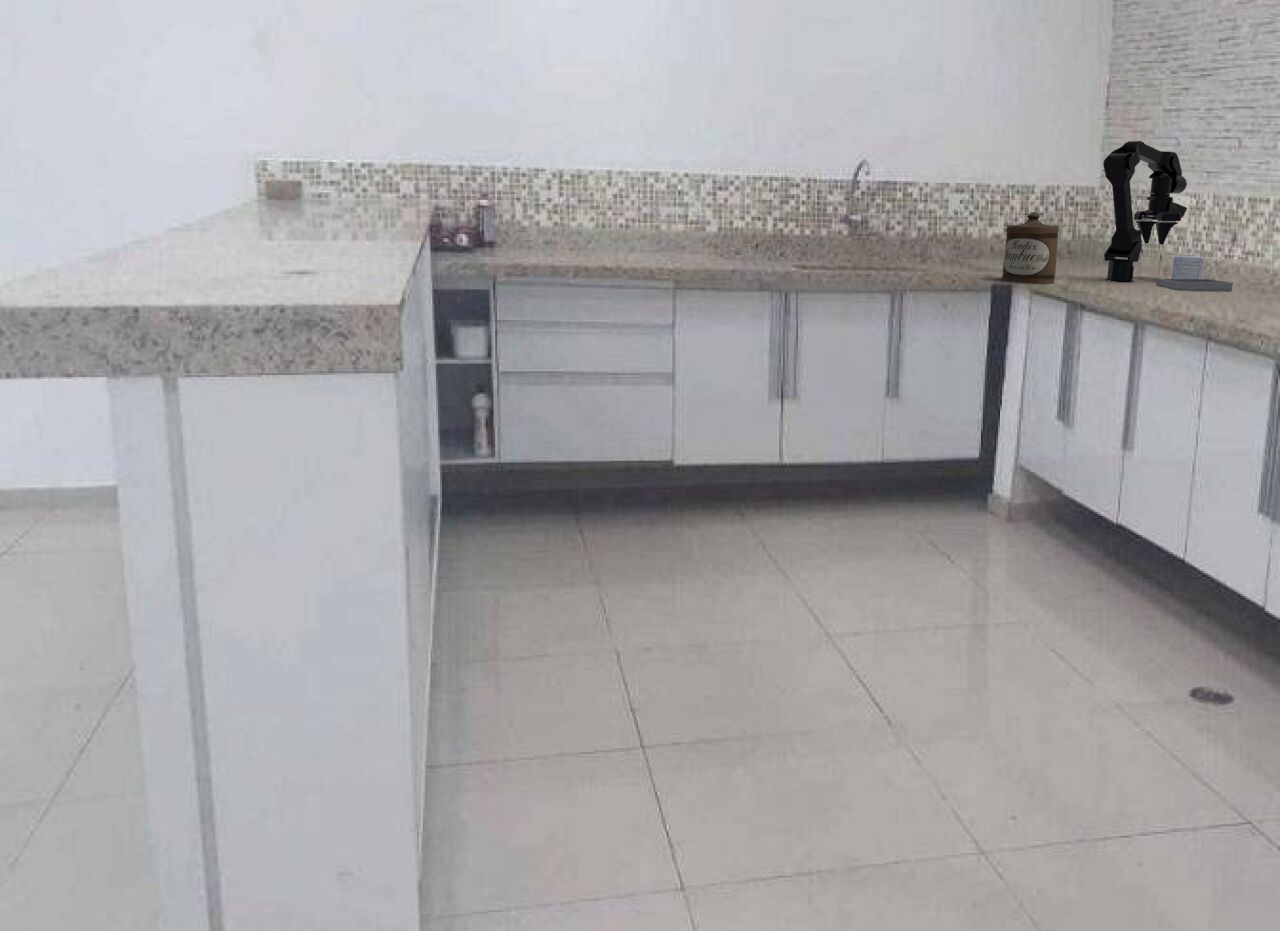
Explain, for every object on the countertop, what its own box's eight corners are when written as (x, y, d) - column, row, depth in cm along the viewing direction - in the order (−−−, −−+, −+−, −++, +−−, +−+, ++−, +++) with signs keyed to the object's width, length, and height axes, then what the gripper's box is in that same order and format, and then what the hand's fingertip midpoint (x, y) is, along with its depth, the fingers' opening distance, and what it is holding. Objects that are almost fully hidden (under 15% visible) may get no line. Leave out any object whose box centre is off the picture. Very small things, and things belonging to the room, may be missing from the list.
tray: (1178, 290, 315) (1179, 282, 315) (1155, 287, 328) (1156, 278, 327) (1231, 291, 316) (1232, 282, 315) (1207, 287, 329) (1208, 279, 328)
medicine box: (1200, 284, 338) (1204, 256, 336) (1198, 285, 335) (1202, 257, 333) (1173, 283, 343) (1177, 255, 341) (1170, 284, 339) (1174, 256, 337)
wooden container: (994, 287, 322) (1000, 211, 316) (1011, 284, 333) (1017, 211, 328) (1044, 290, 313) (1052, 212, 308) (1060, 287, 325) (1067, 212, 319)
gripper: (1201, 193, 332) (1194, 245, 336) (1169, 193, 350) (1163, 242, 354) (1165, 193, 331) (1159, 245, 335) (1135, 193, 349) (1130, 242, 353)
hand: (1153, 244), depth 344 cm, fingers open, 9 cm apart
